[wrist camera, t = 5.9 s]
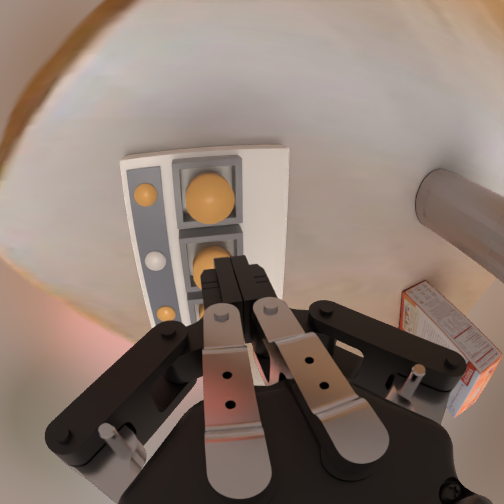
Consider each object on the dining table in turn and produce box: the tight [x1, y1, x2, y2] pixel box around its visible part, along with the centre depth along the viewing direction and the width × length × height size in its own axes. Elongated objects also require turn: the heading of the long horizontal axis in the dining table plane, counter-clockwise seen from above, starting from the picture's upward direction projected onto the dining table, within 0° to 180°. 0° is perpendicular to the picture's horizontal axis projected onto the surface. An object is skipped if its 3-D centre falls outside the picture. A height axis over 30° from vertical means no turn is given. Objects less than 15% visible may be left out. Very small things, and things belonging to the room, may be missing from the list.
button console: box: [120, 144, 290, 328], centre depth 31 cm, size 16×21×5 cm
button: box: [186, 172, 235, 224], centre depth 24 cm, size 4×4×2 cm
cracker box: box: [399, 280, 503, 418], centre depth 39 cm, size 14×6×21 cm, turn 15°
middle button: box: [192, 246, 232, 290], centre depth 28 cm, size 4×4×2 cm
